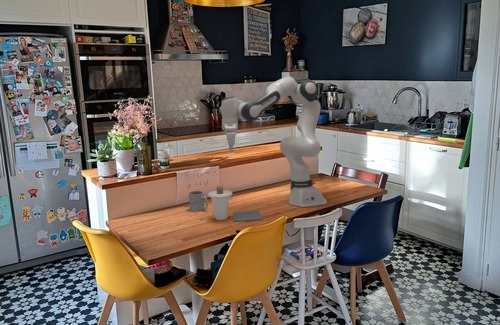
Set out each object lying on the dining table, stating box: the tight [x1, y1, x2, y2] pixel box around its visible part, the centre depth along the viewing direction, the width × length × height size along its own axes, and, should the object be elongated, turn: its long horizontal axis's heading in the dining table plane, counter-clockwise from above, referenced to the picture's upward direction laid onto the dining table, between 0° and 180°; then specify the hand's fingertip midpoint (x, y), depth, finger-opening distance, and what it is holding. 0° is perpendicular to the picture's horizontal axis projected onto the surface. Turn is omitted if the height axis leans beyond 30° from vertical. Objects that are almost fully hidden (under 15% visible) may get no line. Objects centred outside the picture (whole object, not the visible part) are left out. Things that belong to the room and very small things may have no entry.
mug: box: [188, 190, 209, 213], centre depth 247 cm, size 12×9×10 cm
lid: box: [207, 185, 233, 199], centre depth 229 cm, size 13×13×4 cm
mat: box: [232, 210, 263, 223], centre depth 233 cm, size 15×15×1 cm
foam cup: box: [210, 197, 230, 221], centre depth 231 cm, size 10×9×13 cm
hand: (231, 151), depth 240 cm, fingers open, 8 cm apart
